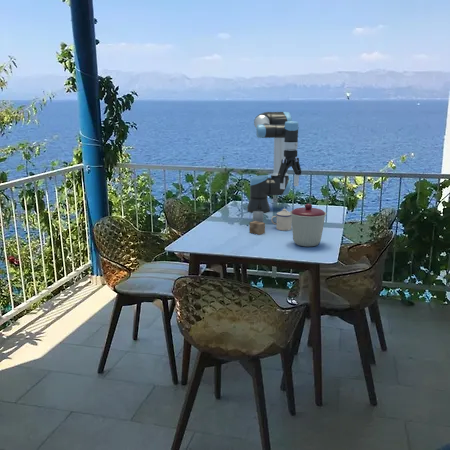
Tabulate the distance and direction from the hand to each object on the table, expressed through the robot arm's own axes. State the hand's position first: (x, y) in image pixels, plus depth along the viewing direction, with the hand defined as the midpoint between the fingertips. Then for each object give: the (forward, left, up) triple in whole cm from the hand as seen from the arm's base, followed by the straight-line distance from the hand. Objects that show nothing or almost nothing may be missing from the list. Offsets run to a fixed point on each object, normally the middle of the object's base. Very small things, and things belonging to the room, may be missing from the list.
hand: (289, 187), depth 267 cm
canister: (+27, -21, -24) cm, 41 cm away
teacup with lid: (-1, -5, -24) cm, 24 cm away
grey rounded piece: (-16, -8, -24) cm, 30 cm away
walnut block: (-5, -22, -24) cm, 32 cm away
